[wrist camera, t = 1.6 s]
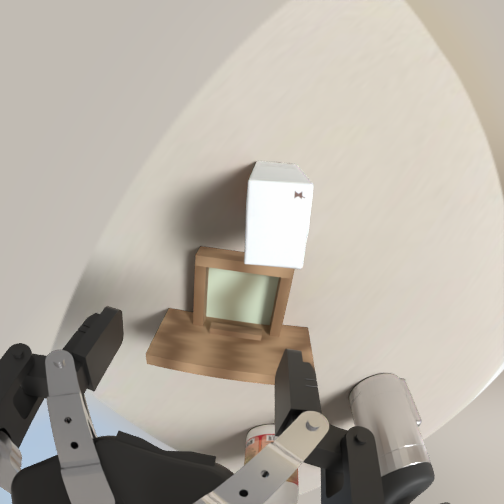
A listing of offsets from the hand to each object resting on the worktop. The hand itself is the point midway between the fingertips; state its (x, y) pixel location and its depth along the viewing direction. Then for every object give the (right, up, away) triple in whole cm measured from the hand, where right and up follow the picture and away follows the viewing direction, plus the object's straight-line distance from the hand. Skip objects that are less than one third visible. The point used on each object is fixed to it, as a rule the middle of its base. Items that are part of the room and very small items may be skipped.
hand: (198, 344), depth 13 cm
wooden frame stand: (+1, -1, +21) cm, 21 cm away
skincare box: (+5, +11, +17) cm, 20 cm away
